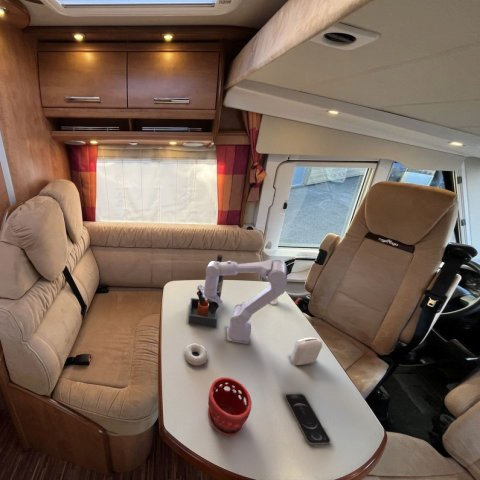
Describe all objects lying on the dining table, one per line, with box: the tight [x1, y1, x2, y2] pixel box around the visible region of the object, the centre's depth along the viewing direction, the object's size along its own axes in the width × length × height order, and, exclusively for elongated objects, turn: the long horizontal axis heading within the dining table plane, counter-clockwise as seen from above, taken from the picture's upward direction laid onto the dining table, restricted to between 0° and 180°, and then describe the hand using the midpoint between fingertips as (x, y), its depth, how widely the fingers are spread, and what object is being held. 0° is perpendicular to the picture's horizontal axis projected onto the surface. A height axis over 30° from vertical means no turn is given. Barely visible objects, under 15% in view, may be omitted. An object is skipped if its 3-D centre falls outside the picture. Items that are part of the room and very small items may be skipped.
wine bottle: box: [206, 254, 225, 301], centre depth 127 cm, size 7×7×30 cm
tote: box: [187, 297, 218, 329], centre depth 122 cm, size 14×14×5 cm
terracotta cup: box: [197, 301, 209, 317], centre depth 121 cm, size 5×5×8 cm
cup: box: [268, 283, 279, 305], centre depth 132 cm, size 7×7×11 cm
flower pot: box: [207, 376, 253, 437], centre depth 77 cm, size 13×13×12 cm
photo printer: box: [290, 337, 323, 366], centre depth 97 cm, size 10×4×12 cm, turn 100°
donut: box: [183, 343, 208, 366], centre depth 100 cm, size 10×4×10 cm
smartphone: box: [284, 393, 331, 446], centre depth 80 cm, size 8×1×15 cm
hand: (207, 308), depth 113 cm, fingers open, 7 cm apart
